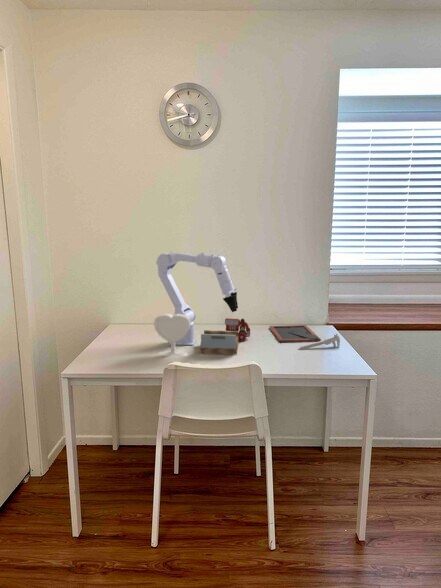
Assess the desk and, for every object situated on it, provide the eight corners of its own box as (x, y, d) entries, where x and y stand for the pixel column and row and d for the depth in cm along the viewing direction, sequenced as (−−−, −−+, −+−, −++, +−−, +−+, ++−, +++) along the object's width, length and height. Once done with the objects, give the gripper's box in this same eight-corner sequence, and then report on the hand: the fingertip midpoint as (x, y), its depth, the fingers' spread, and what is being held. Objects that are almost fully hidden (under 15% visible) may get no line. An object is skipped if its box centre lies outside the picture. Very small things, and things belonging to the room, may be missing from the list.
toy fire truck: (249, 341, 200) (249, 320, 198) (224, 340, 202) (224, 320, 200) (250, 337, 207) (250, 317, 205) (225, 336, 208) (225, 316, 206)
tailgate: (200, 348, 182) (200, 335, 181) (201, 346, 183) (201, 333, 182) (235, 349, 180) (235, 335, 179) (235, 347, 182) (235, 334, 181)
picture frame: (320, 342, 200) (305, 328, 224) (320, 338, 200) (305, 324, 224) (279, 343, 198) (269, 329, 223) (279, 339, 198) (269, 325, 222)
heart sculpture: (154, 355, 182) (153, 315, 178) (157, 351, 187) (156, 312, 183) (189, 356, 180) (188, 316, 177) (191, 352, 185) (190, 313, 181)
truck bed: (200, 353, 184) (200, 338, 183) (204, 344, 196) (204, 330, 195) (236, 354, 183) (236, 339, 181) (238, 345, 194) (238, 331, 193)
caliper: (338, 346, 193) (339, 333, 192) (339, 347, 192) (340, 334, 191) (297, 349, 189) (297, 336, 188) (298, 350, 188) (298, 337, 187)
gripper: (232, 280, 178) (242, 309, 179) (234, 277, 193) (244, 305, 193) (216, 285, 179) (227, 314, 180) (220, 282, 194) (230, 309, 194)
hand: (235, 310), depth 187 cm, fingers open, 7 cm apart
